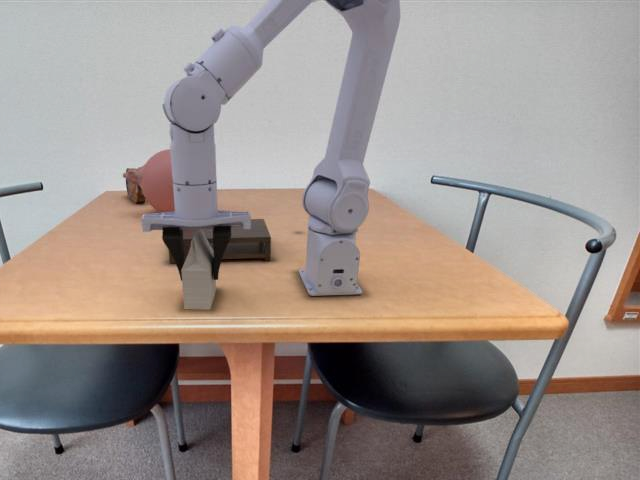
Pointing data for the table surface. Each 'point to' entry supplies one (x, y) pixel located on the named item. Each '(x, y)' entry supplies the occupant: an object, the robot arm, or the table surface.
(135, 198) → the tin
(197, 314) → the table surface
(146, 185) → the balloon
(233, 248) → the dark brown low stand
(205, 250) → the milk carton
